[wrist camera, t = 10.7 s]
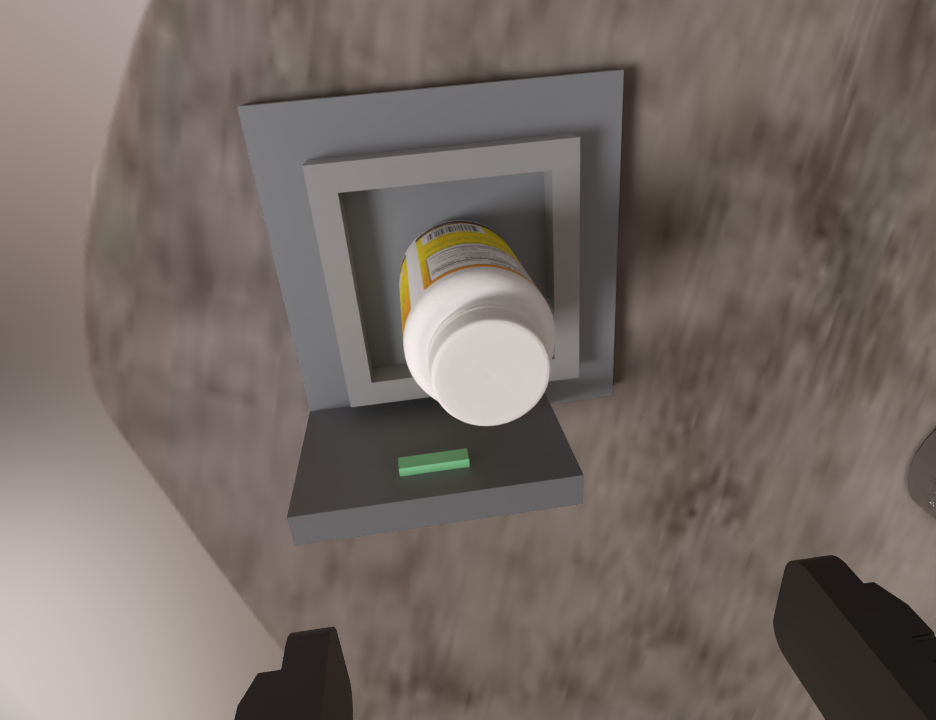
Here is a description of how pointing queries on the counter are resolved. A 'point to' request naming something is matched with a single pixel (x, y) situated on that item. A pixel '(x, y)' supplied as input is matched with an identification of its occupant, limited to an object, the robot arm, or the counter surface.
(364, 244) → the charging dock
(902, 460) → the counter surface
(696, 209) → the counter surface
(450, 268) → the supplement bottle
